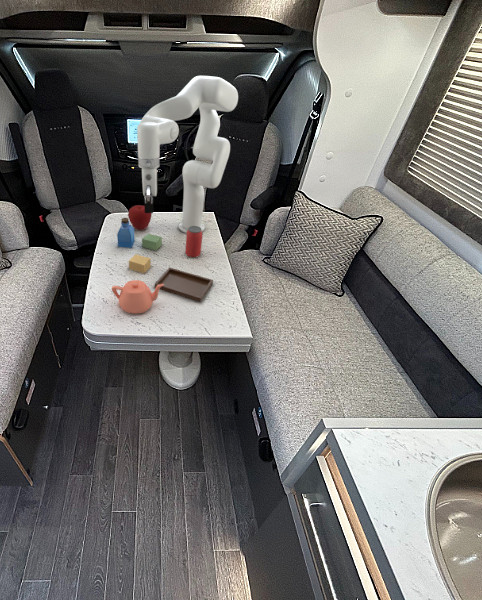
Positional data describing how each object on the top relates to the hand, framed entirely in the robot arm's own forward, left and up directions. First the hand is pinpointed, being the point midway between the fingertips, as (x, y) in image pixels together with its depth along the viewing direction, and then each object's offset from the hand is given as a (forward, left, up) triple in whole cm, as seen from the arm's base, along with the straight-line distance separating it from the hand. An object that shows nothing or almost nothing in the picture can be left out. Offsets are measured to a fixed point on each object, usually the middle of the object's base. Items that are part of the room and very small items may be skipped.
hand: (149, 207), depth 131 cm
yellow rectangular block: (+9, 0, -23) cm, 24 cm away
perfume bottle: (-5, -15, -23) cm, 28 cm away
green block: (-9, -4, -23) cm, 25 cm away
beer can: (-11, +15, -23) cm, 29 cm away
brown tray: (+12, +21, -23) cm, 33 cm away
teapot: (+29, +11, -23) cm, 39 cm away
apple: (-21, -17, -23) cm, 35 cm away
